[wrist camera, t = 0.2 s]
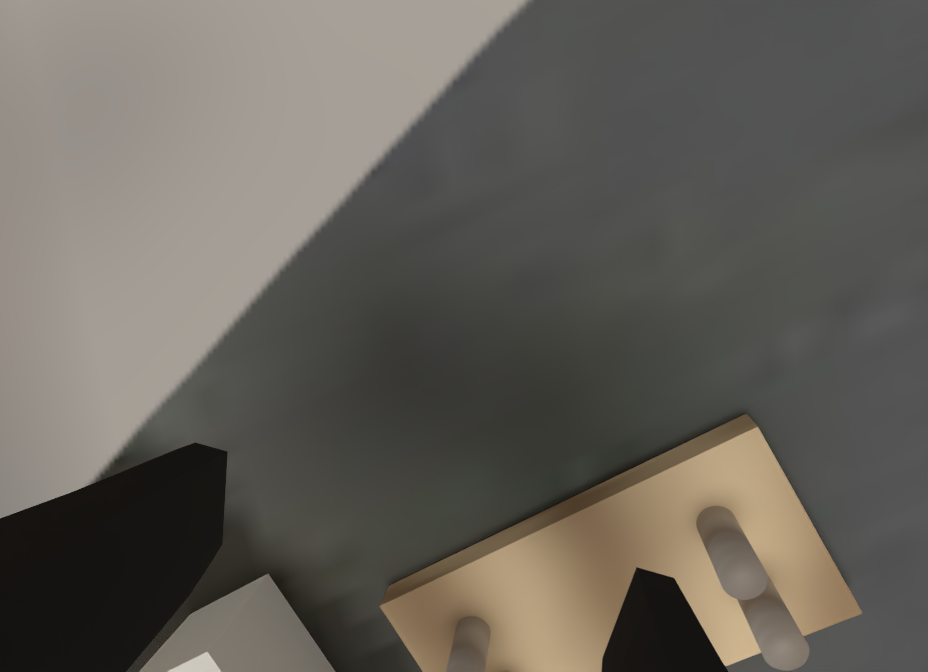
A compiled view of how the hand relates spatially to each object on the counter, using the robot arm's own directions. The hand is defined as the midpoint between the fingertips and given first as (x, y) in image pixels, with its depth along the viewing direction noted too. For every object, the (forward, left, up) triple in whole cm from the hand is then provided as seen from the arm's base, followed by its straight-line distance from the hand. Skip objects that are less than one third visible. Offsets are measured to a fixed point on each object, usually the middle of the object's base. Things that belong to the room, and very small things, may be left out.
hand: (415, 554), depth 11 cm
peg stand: (0, -9, -11) cm, 14 cm away
